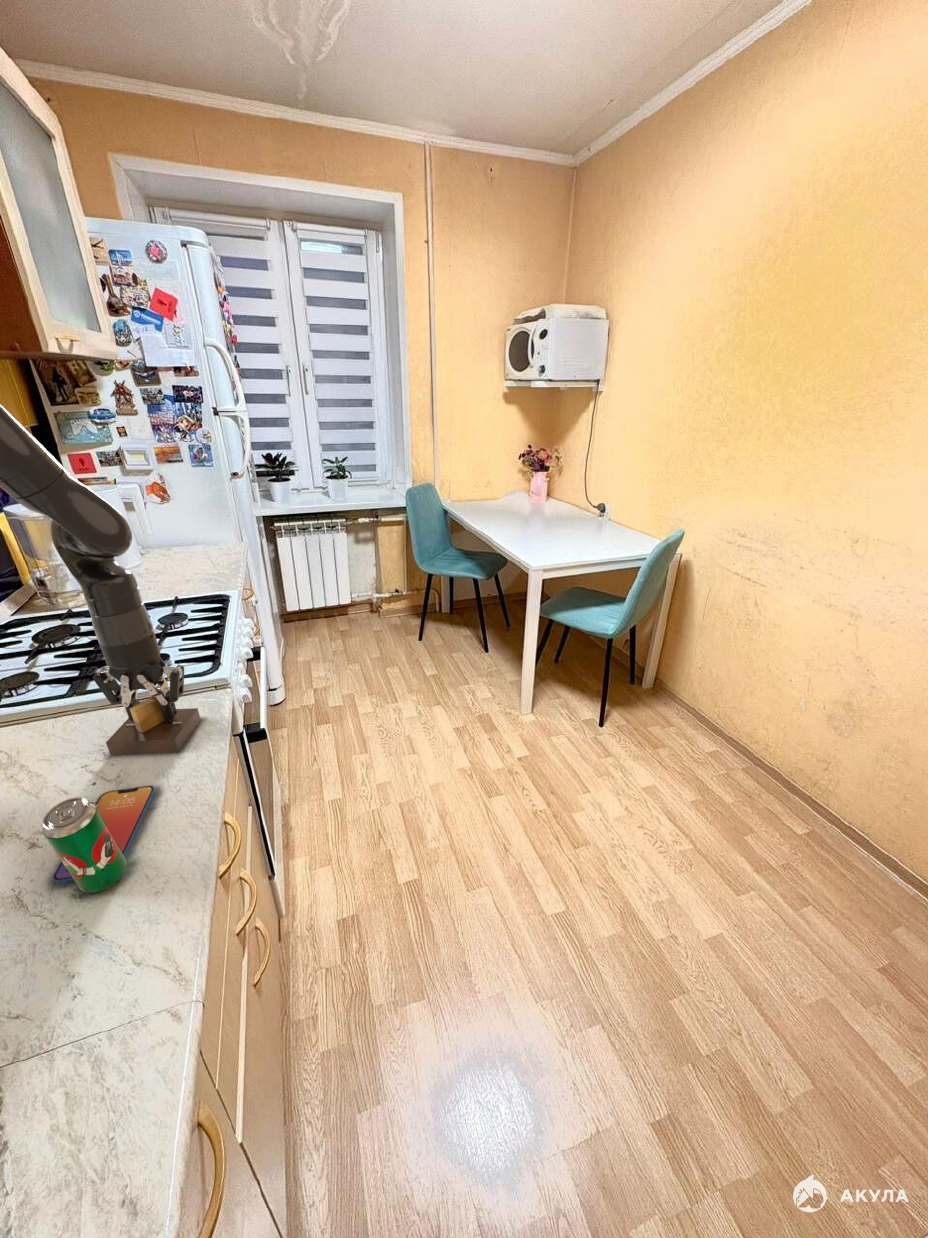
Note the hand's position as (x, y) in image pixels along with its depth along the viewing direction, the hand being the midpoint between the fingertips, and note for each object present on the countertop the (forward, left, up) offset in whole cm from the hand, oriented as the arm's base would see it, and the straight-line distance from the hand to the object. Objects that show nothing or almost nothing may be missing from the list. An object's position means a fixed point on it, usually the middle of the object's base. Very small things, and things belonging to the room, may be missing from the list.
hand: (155, 720), depth 87 cm
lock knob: (0, -1, 0) cm, 1 cm away
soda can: (+7, -29, -3) cm, 30 cm away
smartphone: (+4, -22, -3) cm, 23 cm away
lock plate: (0, -1, -3) cm, 3 cm away
